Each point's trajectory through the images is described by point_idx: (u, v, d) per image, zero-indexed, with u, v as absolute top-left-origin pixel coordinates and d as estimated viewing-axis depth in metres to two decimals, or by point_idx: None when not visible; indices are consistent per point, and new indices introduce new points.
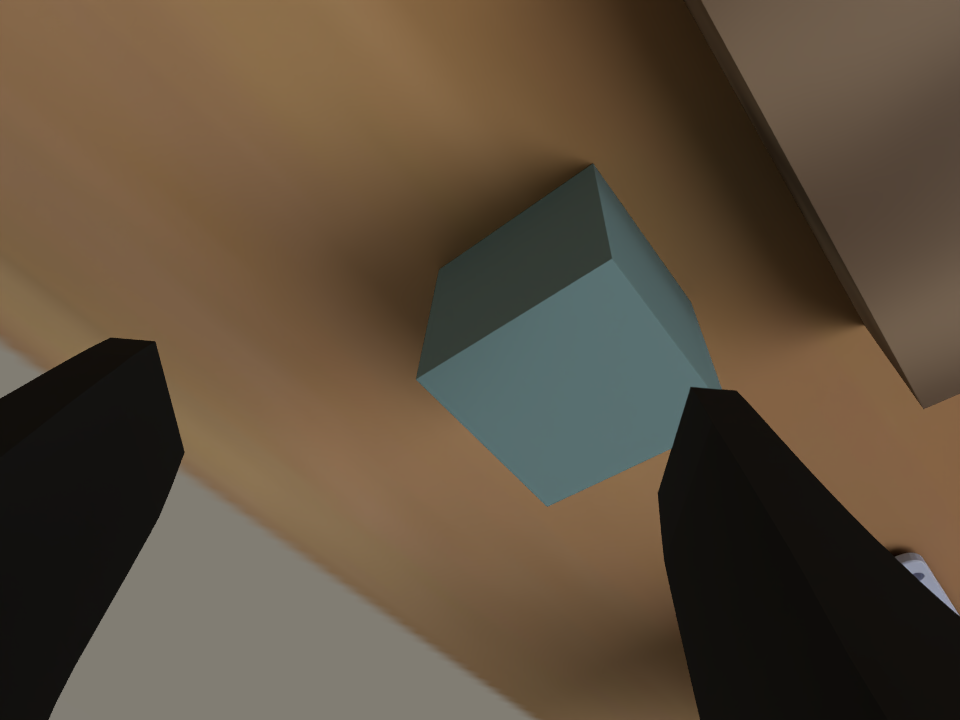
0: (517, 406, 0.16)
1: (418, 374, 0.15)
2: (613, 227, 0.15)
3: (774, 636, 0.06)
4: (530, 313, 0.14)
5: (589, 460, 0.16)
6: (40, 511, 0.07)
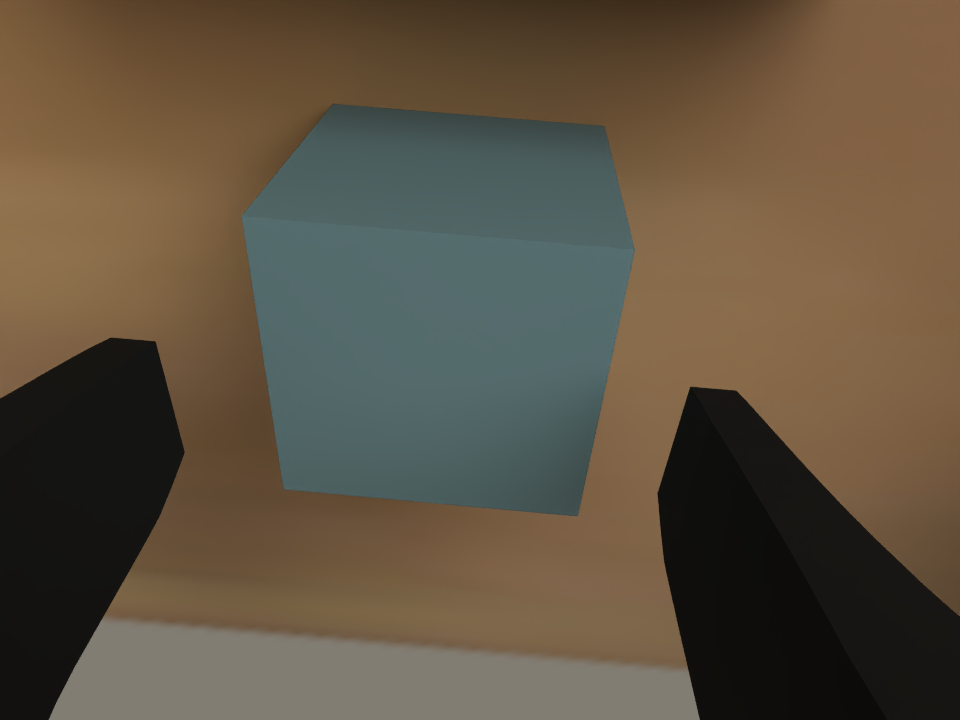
0: (394, 441, 0.11)
1: (285, 481, 0.12)
2: (313, 161, 0.10)
3: (773, 636, 0.06)
4: (266, 343, 0.10)
5: (544, 436, 0.11)
6: (40, 511, 0.07)
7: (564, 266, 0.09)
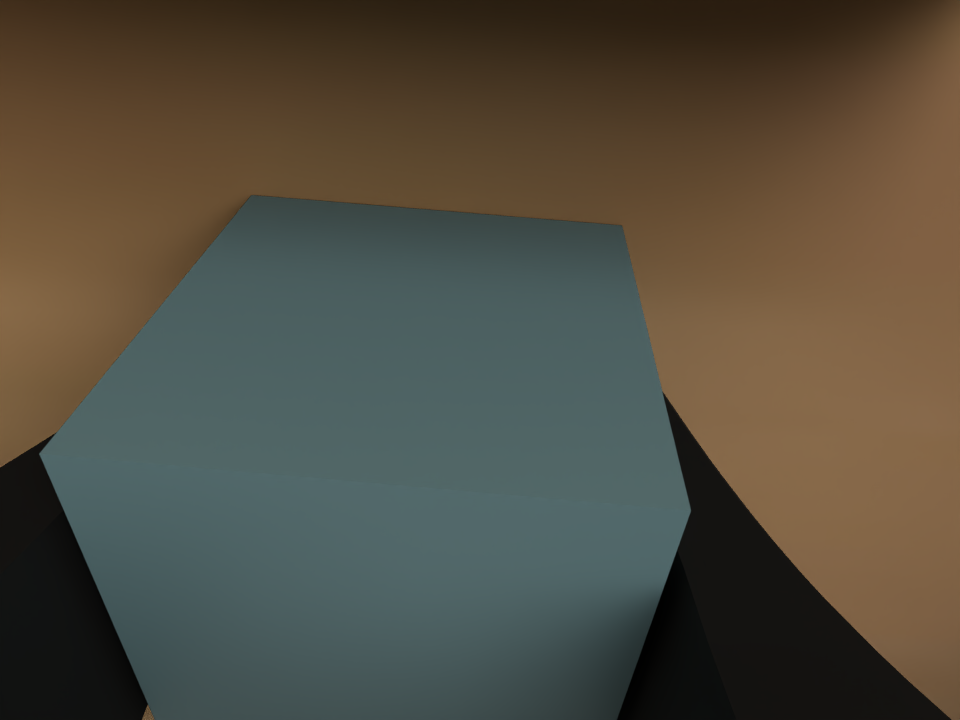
0: (321, 716, 0.07)
1: None
2: (193, 316, 0.07)
3: (661, 626, 0.06)
4: (114, 605, 0.07)
5: (543, 717, 0.07)
6: None
7: (573, 529, 0.05)
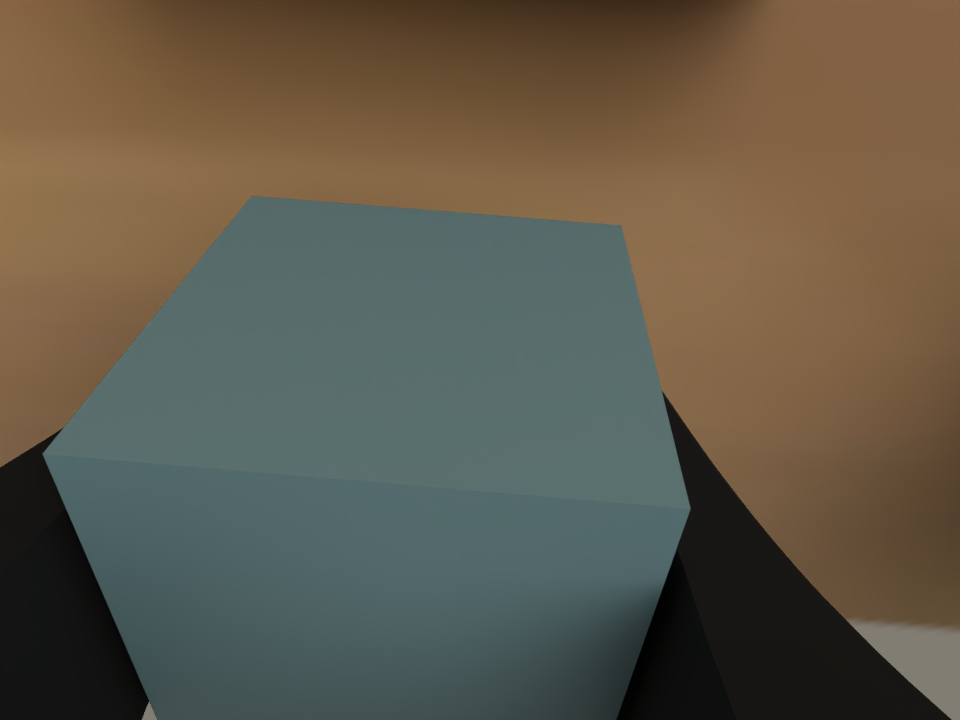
0: (323, 713, 0.07)
1: None
2: (195, 317, 0.07)
3: (662, 626, 0.06)
4: (115, 607, 0.07)
5: (543, 715, 0.07)
6: None
7: (574, 528, 0.06)
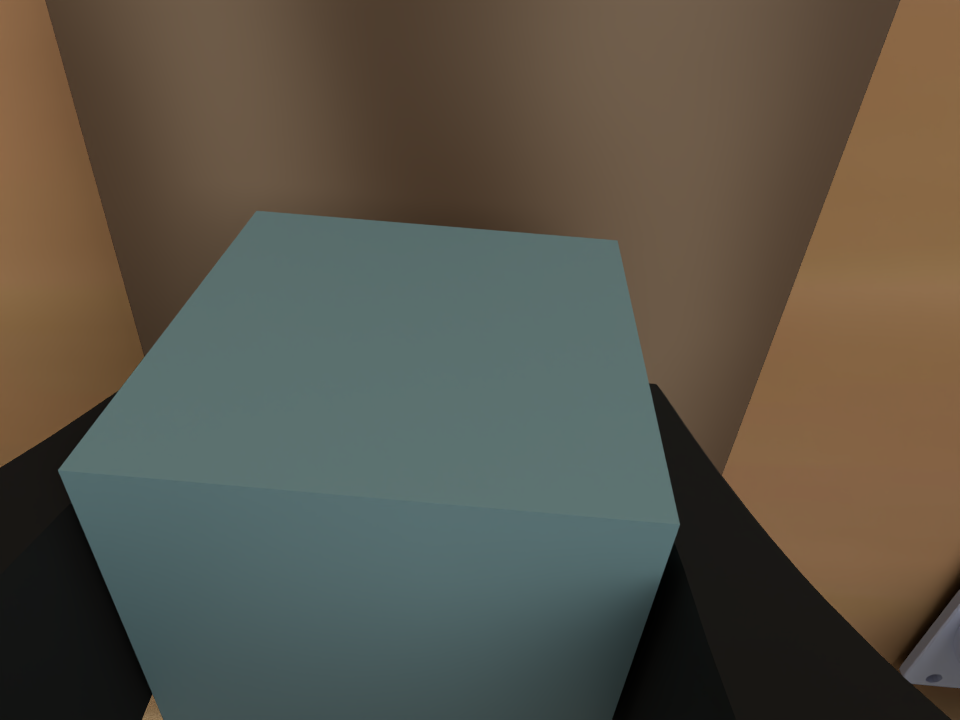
0: (326, 718, 0.08)
1: None
2: (202, 334, 0.07)
3: (661, 626, 0.06)
4: (126, 614, 0.07)
5: (540, 719, 0.07)
6: None
7: (568, 543, 0.06)
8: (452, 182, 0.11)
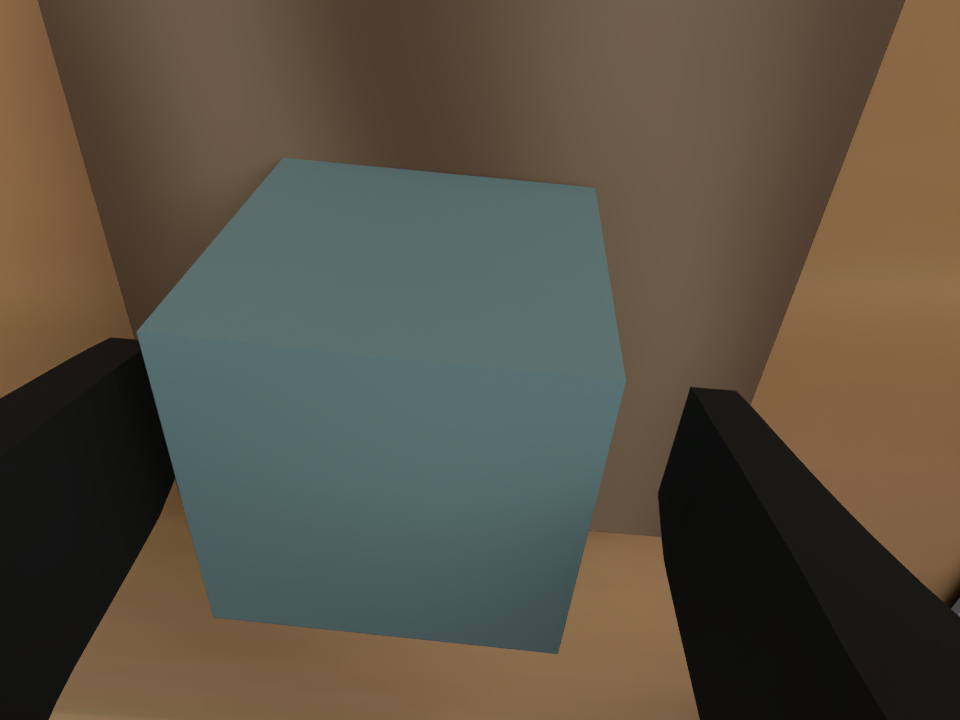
0: (339, 573, 0.09)
1: (215, 607, 0.10)
2: (243, 245, 0.09)
3: (774, 636, 0.06)
4: (179, 469, 0.08)
5: (518, 573, 0.09)
6: (40, 511, 0.07)
7: (538, 398, 0.07)
8: None
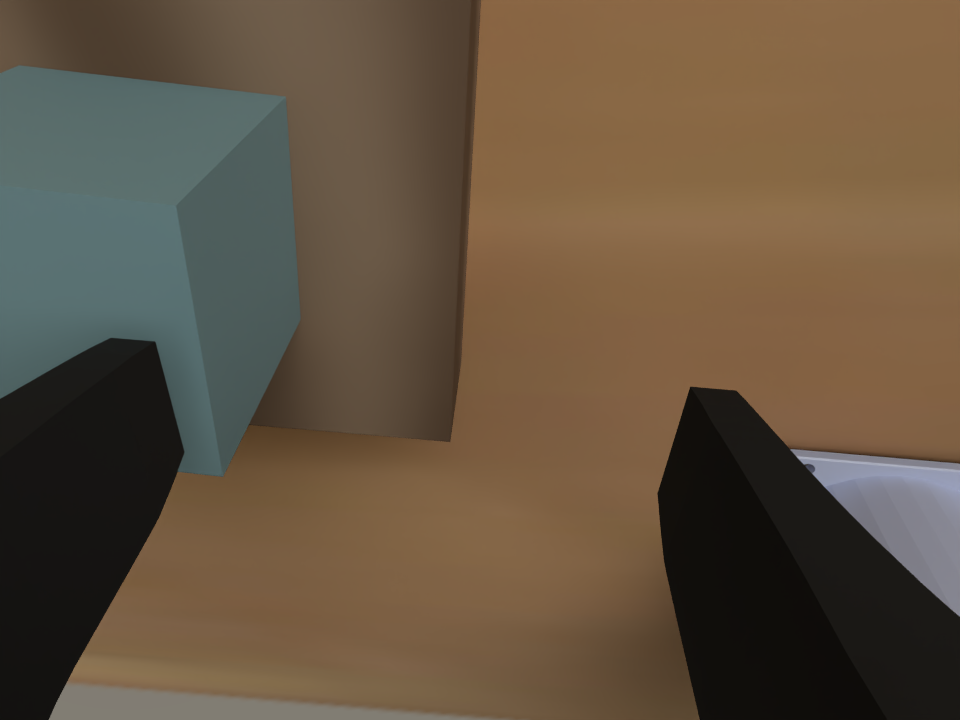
0: None
1: None
2: None
3: (774, 636, 0.06)
4: None
5: None
6: (40, 511, 0.07)
7: (116, 222, 0.09)
8: None
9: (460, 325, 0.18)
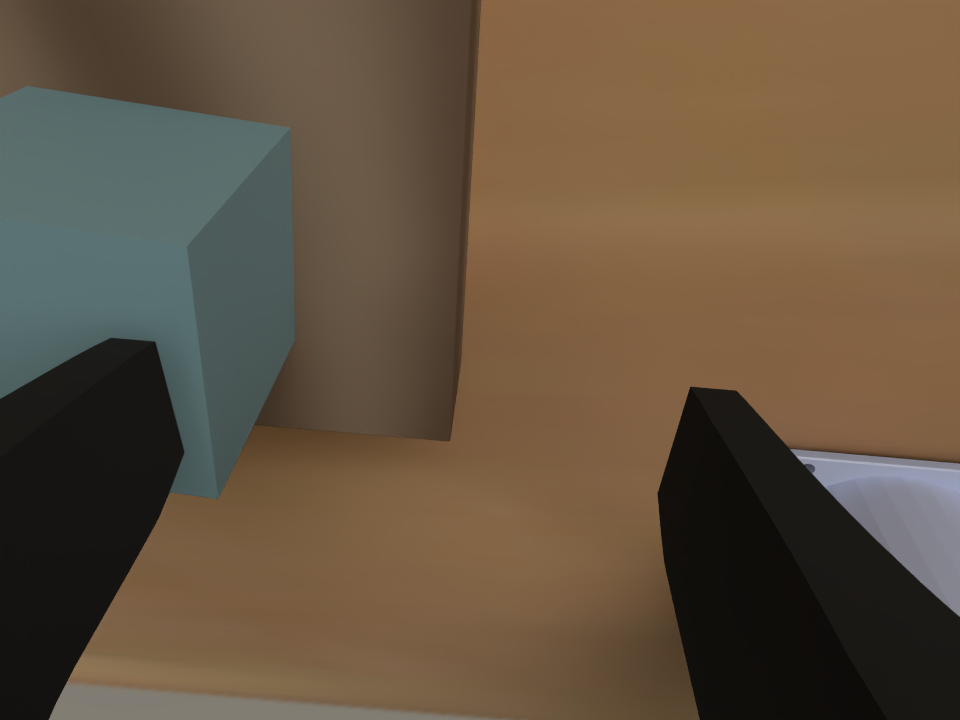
0: None
1: None
2: None
3: (774, 636, 0.06)
4: None
5: None
6: (40, 511, 0.07)
7: (127, 258, 0.09)
8: (152, 104, 0.13)
9: (460, 324, 0.18)
